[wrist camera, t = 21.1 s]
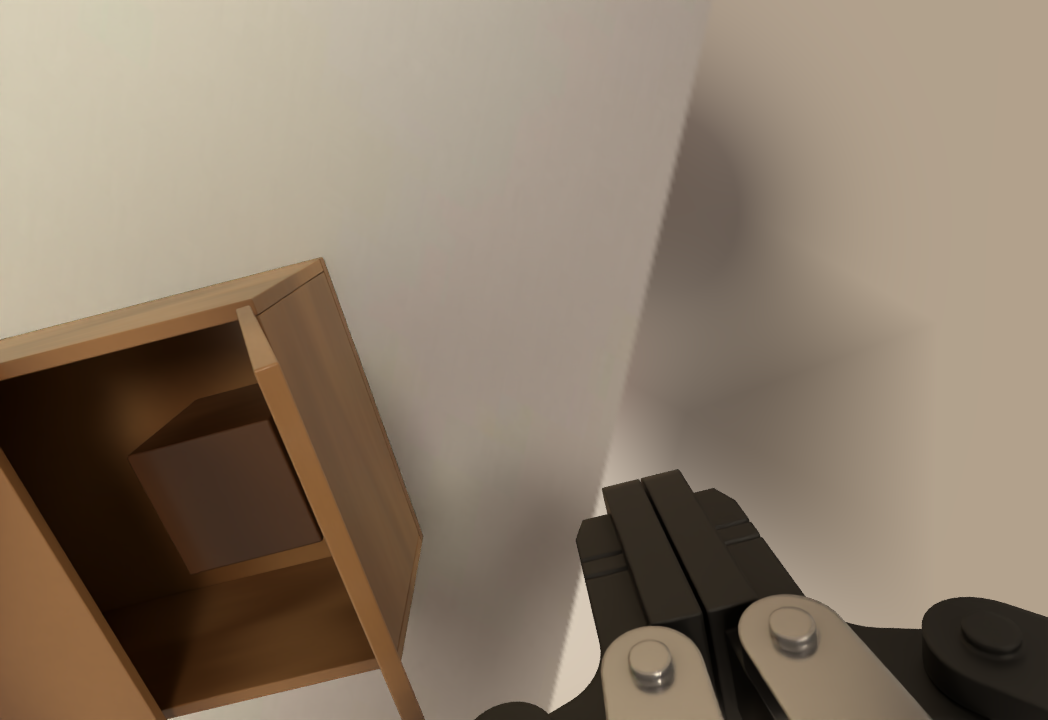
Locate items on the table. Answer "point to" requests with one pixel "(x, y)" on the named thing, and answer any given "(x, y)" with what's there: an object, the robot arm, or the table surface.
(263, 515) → the block
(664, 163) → the table surface
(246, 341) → the flap
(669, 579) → the robot arm
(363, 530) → the carton
